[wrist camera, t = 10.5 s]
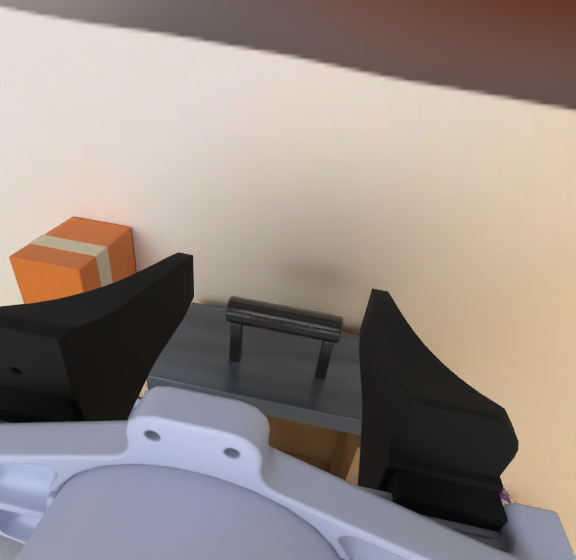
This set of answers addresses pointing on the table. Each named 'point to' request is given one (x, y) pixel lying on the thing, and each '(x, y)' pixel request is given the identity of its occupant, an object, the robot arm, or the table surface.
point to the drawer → (275, 375)
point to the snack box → (73, 260)
